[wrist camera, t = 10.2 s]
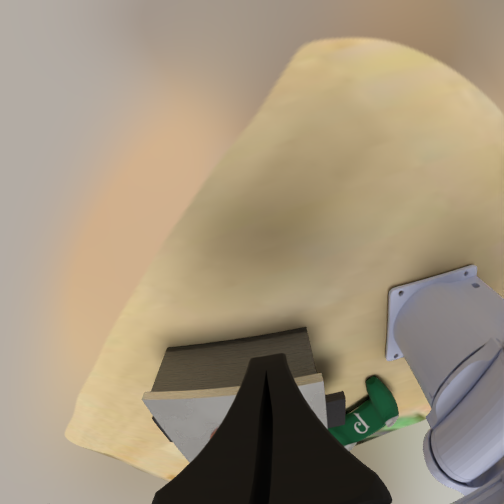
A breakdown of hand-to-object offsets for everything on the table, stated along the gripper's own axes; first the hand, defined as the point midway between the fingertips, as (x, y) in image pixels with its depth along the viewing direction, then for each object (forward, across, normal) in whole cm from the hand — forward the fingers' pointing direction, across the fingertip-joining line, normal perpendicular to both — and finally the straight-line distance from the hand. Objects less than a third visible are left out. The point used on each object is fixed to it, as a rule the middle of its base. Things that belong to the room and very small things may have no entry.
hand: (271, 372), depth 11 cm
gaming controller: (+11, -6, +19) cm, 23 cm away
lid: (+5, +4, +12) cm, 14 cm away
